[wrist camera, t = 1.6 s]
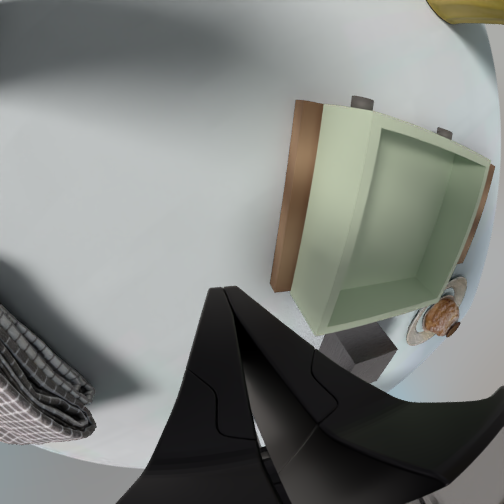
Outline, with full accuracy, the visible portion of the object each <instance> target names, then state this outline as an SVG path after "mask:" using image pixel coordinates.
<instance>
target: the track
mask: <svg viewBox="0 0 504 504" xmlns="http://www.w3.org/2000/svg"><path fill="white" fill-rule="evenodd" d="M323 106H324V104H320V103H315V102H310V101H304V100H296V102H295V111H294V119H293V127H292V135H291V142H290V150H289V158H288V165H287V172H286V180H285V187H284V194H283V201H282V208H281V215H280V222H279V228H278V235H277V242H276V248H275V254H274V261H273V267H272V273H271V280H270V285H271V287H272V289H273V290H274V292H284V291H291V287H292V283H293V278H294V273H295V269H296V264H297V259H298V254H299V249H300V244H301V239H302V234H303V229H304V224H305V218H306V213H307V208H308V202H309V197H310V191H311V185H312V179H313V173H314V167H315V161H316V155H317V148H318V141H319V135H320V128H321V121H322V113H323ZM494 169H495V166H494V165H492V164H490V167H489V171H488V175H487V179H486V183H485V187H484V190H483V194H482V197H481V201H480V204H479V207H478V210H477V213H476V216H475V219H474V222H473V225H472V228H471V230H470V233H469V236H468V238H467V241H466V243H465V246H464V248H463V251H462V253H461V256H460V258H459V260H458V262H457V264H460V263H463V261H464V259H465V257H466V254H467V252H468V249H469V247H470V245H471V242H472V240H473V237H474V234H475V232H476V229H477V226H478V223H479V221H480V218H481V215H482V212H483V209H484V206H485V202H486V199H487V196H488V192H489V189H490V185H491V181H492V177H493V173H494Z"/></svg>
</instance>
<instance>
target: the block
mask: <svg viewBox="0 0 504 504" xmlns="http://www.w3.org/2000/svg"><path fill="white" fill-rule="evenodd" d="M397 350H398V349H397V347H396V346H395V345H394V344H393V342H392V341H391V340H390V338H389V337H388V336H387V335H386V333H385V332H384V331H383V329H382V328H381V327H380V326H379V324H378V323H377V322H373V323H370V324H366V325H362V326H358V327H354V328H350V329H346V330H342V331H338V332H333V333H329V334H325V336H324V339H323V341H322V344H321V346H320V349H319V351H320V352H321V353H323V354H324V355H325V356H327V357H328V358H330V359H331V360H332V361H334V362H335V363H337V364H338V365H339V366H341V367H343V368H344V369H346V370H347V371H349V372H351V373H352V374H354V375H356V376H357V377H359V378H361V379H362V380H364V381H366V382H368V383H372V382H374V381H377V379H378V378H379V376H380V375H381V374H382V372H383V371H384V369H385V368H386V366H387V365H388V363H389V362H390V360H391V359H392V357H393V356H394V354H395V353H396V351H397Z"/></svg>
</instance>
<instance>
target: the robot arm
mask: <svg viewBox="0 0 504 504" xmlns="http://www.w3.org/2000/svg"><path fill="white" fill-rule="evenodd" d="M252 413H253V416H254V418H255V421H256V423H257V426H258V428H259V431H260V433H261V436H262V438H263V440H264V443H265V445H266V446H264V447H261V445H260V442H259V439H258V436H257V433H256V430H255V425H254V421H253V416H252ZM116 504H504V386H501V387H500V388H499V389H498V390H497V391H496V392H495V393H494V394H493V395H492V396H491V397H489V398H487V399H482V400H477V401H466V402H442V403H416V402H408V401H404V400H401V399H398V398H395V397H393V396H391V395H389V394H387V393H386V392H384V391H382V390H380V389H378V388H377V387H375V386H373V385H371V384H369V383H368V382H366V381H364V380H362V379H361V378H359V377H357V376H356V375H354V374H352V373H351V372H349V371H347V370H346V369H344V368H343V367H341V366H339V365H338V364H337V363H335V362H334V361H332V360H331V359H330V358H328V357H327V356H325V355H324V354H323V353H321V352H320V351H319V350H317V349H315V348H314V347H313V346H312V345H311V344H309V343H308V342H307V341H305V340H304V339H303V338H302V337H300V336H299V335H298V334H296V333H295V332H294V331H293V330H291V329H290V328H289V327H287V326H286V325H285V324H284V323H282V322H281V321H280V320H278V319H277V318H276V317H275V316H273V315H272V314H271V313H270V312H268V311H267V310H266V309H265V308H263V307H262V306H261V305H260V304H258V303H257V302H256V301H255V300H253V299H252V298H251V297H250V296H248V295H247V294H246V293H245V292H244V291H242V290H241V289H240V288H239V287H237V286H227V287H224V288H222V287H215V288H209V290H208V293H207V296H206V300H205V303H204V307H203V310H202V313H201V317H200V320H199V324H198V327H197V331H196V334H195V338H194V341H193V345H192V348H191V352H190V356H189V359H188V363H187V366H186V370H185V373H184V377H183V381H182V384H181V387H180V390H179V393H178V397H177V399H176V402H175V404H174V407H173V409H172V412H171V415H170V417H169V419H168V421H167V424H166V426H165V428H164V430H163V433H162V435H161V437H160V439H159V442H158V444H157V446H156V448H155V451H154V453H153V455H152V457H151V459H150V461H149V463H148V465H147V467H146V468H145V470H144V472H143V473H142V474H141V476H140V477H139V478H138V479H137V481H136V482H135V483H134V484H133V485H132V486H131V488H129V490H128V491H127V492H126V493H125V494H124V495H123V496H122V497H121V498H120V499H119V501H118V502H117V503H116Z"/></svg>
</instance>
